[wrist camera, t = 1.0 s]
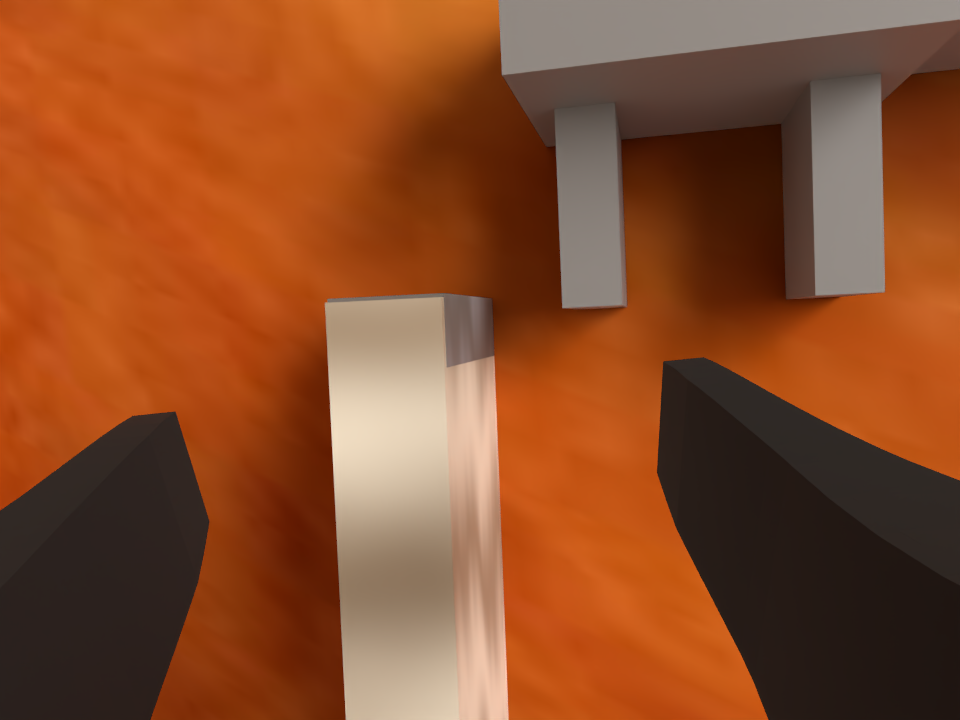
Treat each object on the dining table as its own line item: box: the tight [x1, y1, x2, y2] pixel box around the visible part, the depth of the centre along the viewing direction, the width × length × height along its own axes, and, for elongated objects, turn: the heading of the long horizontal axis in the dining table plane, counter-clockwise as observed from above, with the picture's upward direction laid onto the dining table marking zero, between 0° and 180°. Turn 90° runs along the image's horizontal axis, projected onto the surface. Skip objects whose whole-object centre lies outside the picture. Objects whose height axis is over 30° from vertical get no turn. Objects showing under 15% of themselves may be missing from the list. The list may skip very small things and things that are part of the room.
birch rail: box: [325, 293, 508, 720], centre depth 21 cm, size 14×3×6 cm, turn 2°
